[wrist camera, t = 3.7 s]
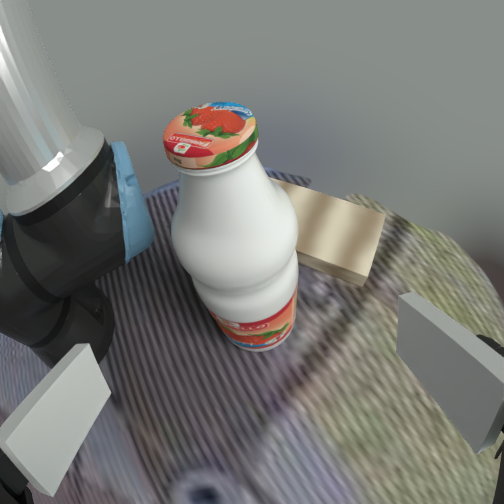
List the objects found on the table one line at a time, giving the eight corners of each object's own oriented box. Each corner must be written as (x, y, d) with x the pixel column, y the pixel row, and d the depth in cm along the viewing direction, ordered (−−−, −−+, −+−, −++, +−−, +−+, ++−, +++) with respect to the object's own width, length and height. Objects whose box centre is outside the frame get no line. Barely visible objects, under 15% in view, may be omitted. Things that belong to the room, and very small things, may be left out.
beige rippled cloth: (233, 238, 44) (229, 226, 42) (265, 188, 49) (263, 176, 47) (362, 287, 38) (367, 276, 35) (381, 227, 43) (385, 214, 40)
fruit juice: (307, 301, 38) (327, 97, 14) (274, 366, 34) (241, 217, 10) (243, 274, 41) (191, 79, 17) (208, 333, 37) (88, 166, 13)
